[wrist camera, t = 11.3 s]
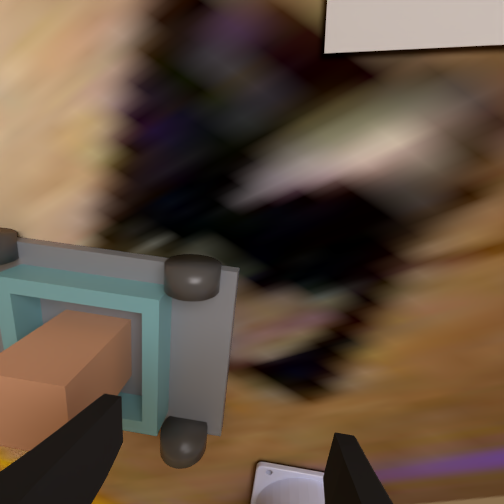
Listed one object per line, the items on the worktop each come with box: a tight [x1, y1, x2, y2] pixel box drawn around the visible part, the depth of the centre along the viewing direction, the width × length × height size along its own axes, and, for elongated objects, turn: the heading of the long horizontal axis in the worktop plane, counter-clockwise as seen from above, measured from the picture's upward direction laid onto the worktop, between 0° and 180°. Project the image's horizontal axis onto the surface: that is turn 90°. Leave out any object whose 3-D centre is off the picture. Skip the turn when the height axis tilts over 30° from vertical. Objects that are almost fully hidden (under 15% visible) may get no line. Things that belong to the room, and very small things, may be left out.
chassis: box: [0, 228, 239, 469], centre depth 19 cm, size 18×14×3 cm
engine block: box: [0, 309, 132, 451], centre depth 17 cm, size 4×4×6 cm
